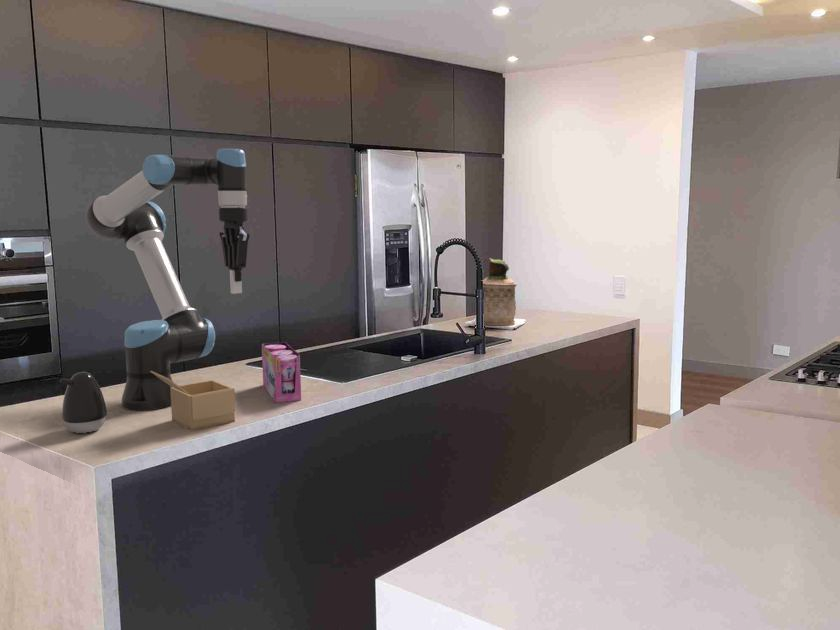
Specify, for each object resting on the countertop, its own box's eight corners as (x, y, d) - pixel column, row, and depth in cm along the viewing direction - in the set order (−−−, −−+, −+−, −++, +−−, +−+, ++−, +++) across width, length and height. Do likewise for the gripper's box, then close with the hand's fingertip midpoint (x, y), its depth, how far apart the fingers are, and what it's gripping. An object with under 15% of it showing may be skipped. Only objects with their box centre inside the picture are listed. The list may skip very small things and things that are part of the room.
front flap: (171, 385, 188) (170, 386, 188) (151, 370, 184) (150, 371, 184) (189, 393, 180) (188, 394, 180) (168, 378, 176) (167, 379, 175)
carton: (171, 419, 190) (169, 386, 189) (215, 411, 198) (213, 379, 197) (192, 431, 180) (190, 396, 179) (237, 421, 189) (235, 388, 187)
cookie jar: (515, 330, 326) (517, 260, 321) (463, 327, 334) (464, 259, 329) (527, 322, 348) (528, 256, 344) (478, 319, 357) (479, 255, 352)
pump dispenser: (56, 430, 181) (51, 372, 178) (97, 421, 188) (93, 365, 186) (72, 439, 174) (67, 379, 171) (114, 430, 181) (110, 371, 179)
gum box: (303, 401, 208) (302, 356, 206) (275, 404, 205) (274, 358, 203) (287, 382, 230) (286, 341, 228) (262, 385, 227) (260, 343, 225)
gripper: (257, 207, 192) (260, 294, 195) (234, 206, 201) (237, 289, 205) (231, 207, 187) (235, 296, 191) (209, 206, 197) (213, 292, 200)
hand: (236, 293), depth 198 cm, fingers closed
